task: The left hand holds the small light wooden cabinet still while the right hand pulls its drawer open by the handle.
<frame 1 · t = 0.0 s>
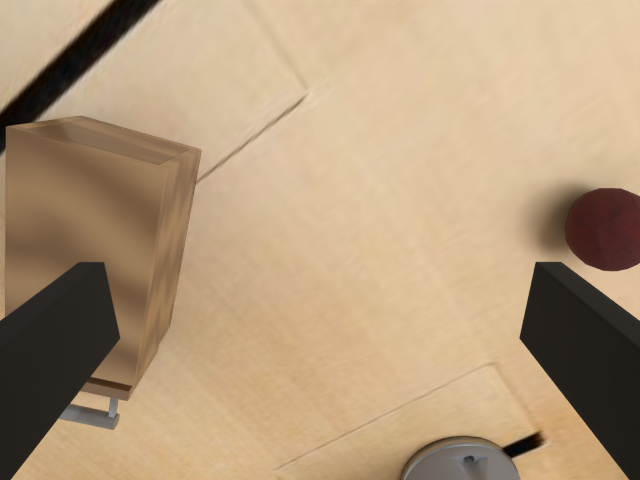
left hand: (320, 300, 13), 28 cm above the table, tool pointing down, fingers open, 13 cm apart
cabinet: (130, 231, 42), on the table
drawer: (100, 309, 39), point 5 cm above the table, slide at 1.7 cm
dark red ball: (585, 216, 41), on the table
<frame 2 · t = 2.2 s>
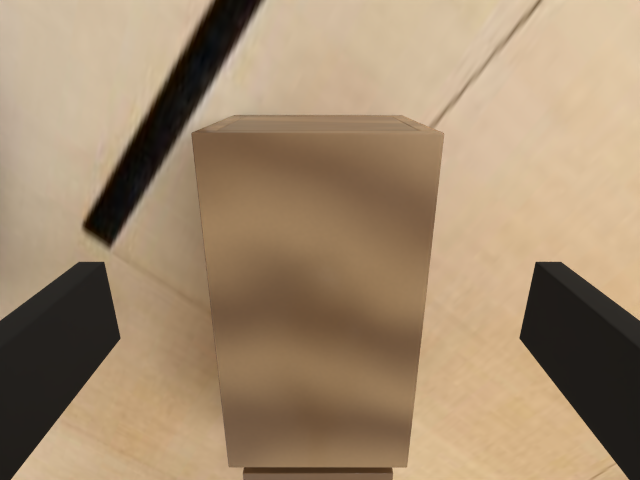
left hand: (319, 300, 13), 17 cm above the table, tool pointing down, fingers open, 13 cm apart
cabinet: (318, 256, 31), on the table
drawer: (318, 369, 29), point 5 cm above the table, slide at 1.7 cm
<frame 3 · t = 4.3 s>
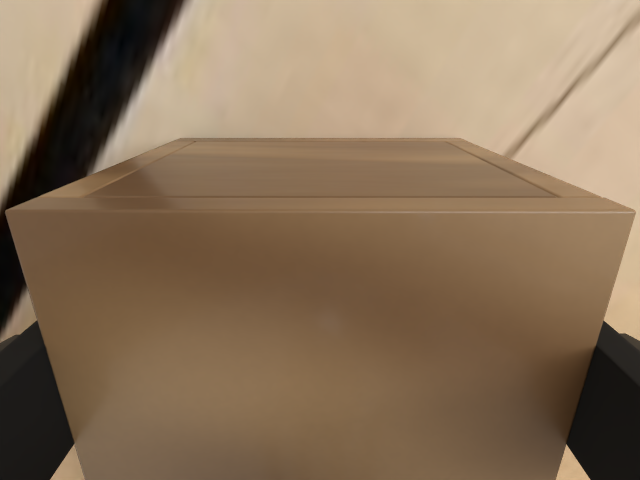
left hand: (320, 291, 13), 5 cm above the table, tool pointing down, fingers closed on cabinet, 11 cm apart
cabinet: (320, 351, 20), on the table, touching left hand
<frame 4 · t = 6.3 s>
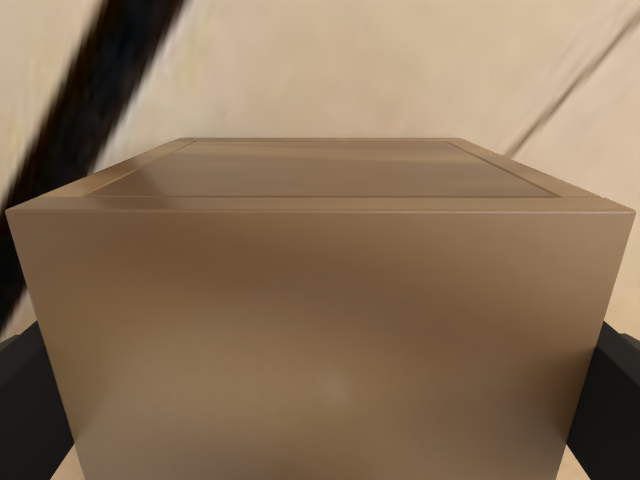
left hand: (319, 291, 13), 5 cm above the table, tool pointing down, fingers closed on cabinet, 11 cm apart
cabinet: (320, 351, 20), on the table, touching left hand
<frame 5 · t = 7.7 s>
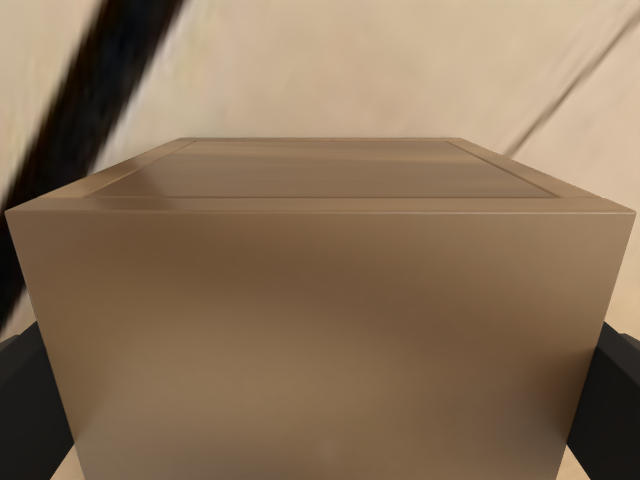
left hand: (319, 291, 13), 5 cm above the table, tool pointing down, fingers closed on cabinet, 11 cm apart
cabinet: (320, 351, 20), on the table, touching left hand
when the left hand's fingers open (5 cm above the table, at t = 9.4 s): cabinet stays where it is, on the table.
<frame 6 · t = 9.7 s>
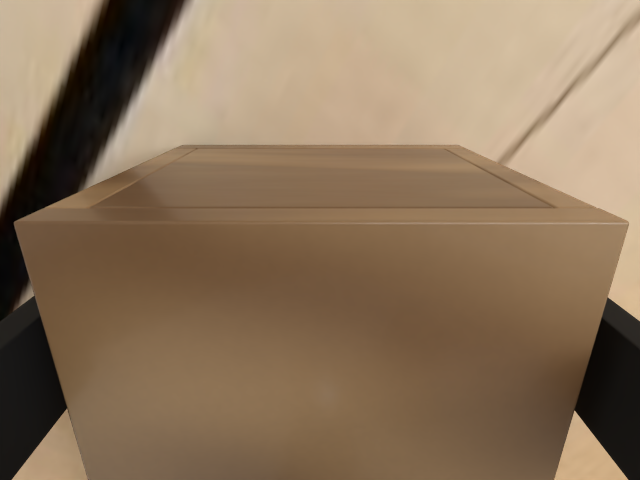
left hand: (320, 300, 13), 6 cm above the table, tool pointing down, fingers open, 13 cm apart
cabinet: (320, 355, 20), on the table
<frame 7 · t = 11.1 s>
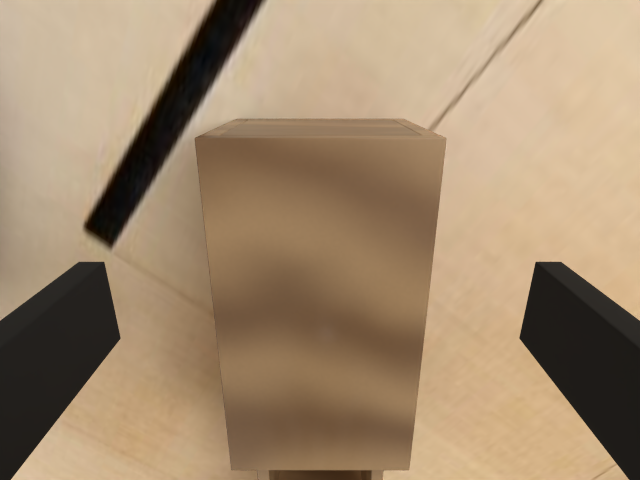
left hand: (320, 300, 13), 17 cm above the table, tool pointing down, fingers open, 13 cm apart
cabinet: (320, 259, 31), on the table
drawer: (320, 451, 31), point 5 cm above the table, slide at 9.4 cm
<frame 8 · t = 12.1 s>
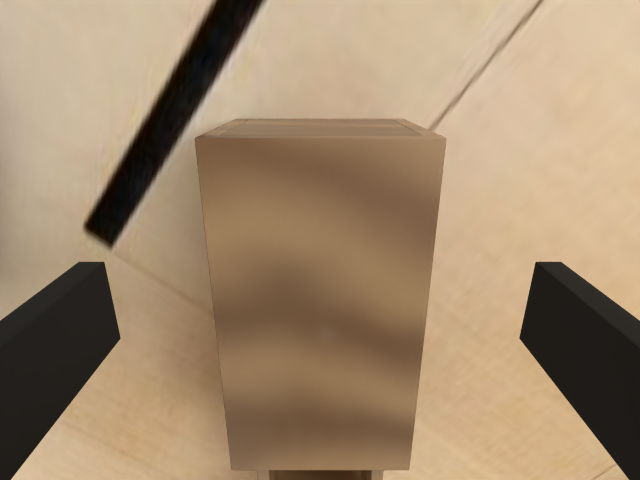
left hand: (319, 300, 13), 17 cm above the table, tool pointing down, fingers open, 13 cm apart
cabinet: (320, 259, 31), on the table
drawer: (320, 451, 31), point 5 cm above the table, slide at 9.4 cm
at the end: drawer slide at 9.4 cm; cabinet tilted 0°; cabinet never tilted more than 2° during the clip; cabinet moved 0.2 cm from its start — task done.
